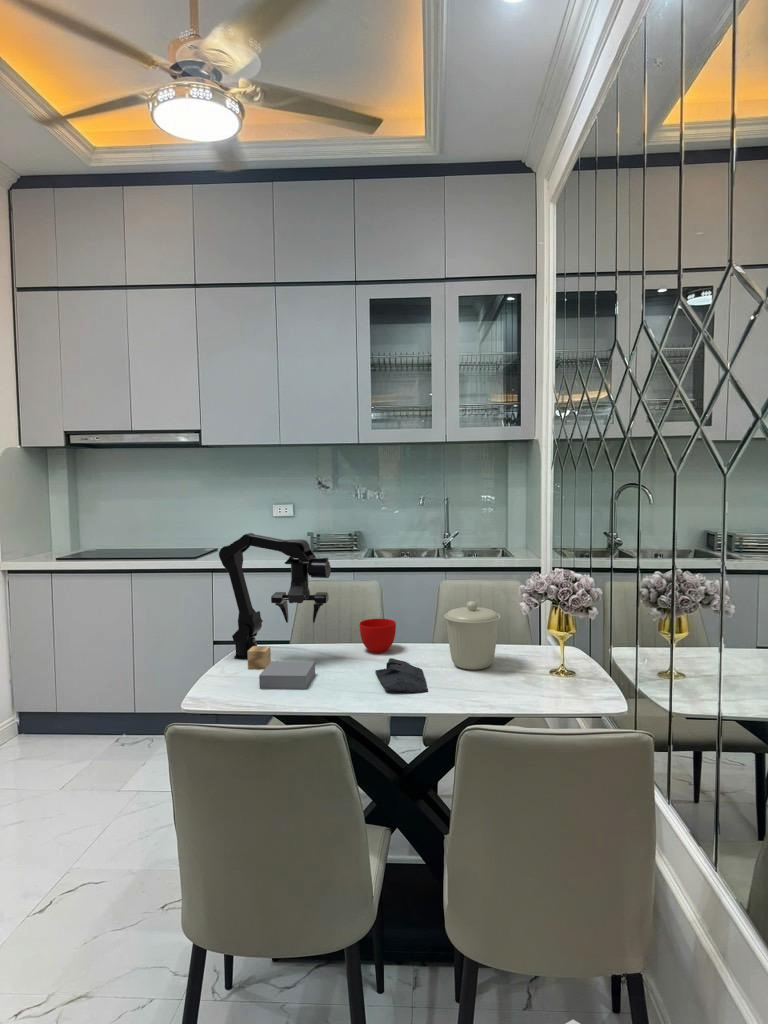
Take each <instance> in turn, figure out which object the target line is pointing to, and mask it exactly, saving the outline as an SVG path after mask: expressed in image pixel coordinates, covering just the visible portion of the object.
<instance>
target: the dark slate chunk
mask: <svg viewBox="0 0 768 1024" xmlns="http://www.w3.org/2000/svg"><path fill="white" fill-rule="evenodd" d="M385 665H386V667H385V668H381V669H375V670H374V672H375V674H376V676H377V679H378V681H379V682H380V684H381V685H382V686H383V689H385V690H386V691H387V692H390V693H391V692H397V693H398V692H403V693H415V694H416V693H418V694H421V693H427V692H429V688H428V684H427V683H428V682H427V679H426V677H425V675H424V671H423V669H422V668H420V667H416V666H414V665H412V664H411V663H409V662H407V661H405V660H400V659H396V658H391V657H390V658H388V661H387V662H386V663H385Z"/></svg>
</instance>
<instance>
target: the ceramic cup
mask: <svg viewBox="0 0 768 1024" xmlns="http://www.w3.org/2000/svg"><path fill="white" fill-rule="evenodd" d="M358 625H359V633H360V640H361V641H362V644H363V646H364V647H365V648H366V649H367V650H368V651H369V652H370V653H372V654H373V653H374V654H382V653H386V652H388V650H389V649H390V648H391V647H392V646H393V643H394V641H395V638H396V631H397V622H396V621H395V620H393V619H390V618H389V619H388V618H371V619H370V618H369V619H364V620H362V621H360V622H359V624H358Z"/></svg>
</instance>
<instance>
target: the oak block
mask: <svg viewBox="0 0 768 1024" xmlns="http://www.w3.org/2000/svg"><path fill="white" fill-rule="evenodd" d="M247 653H248V659H247V669H248V670H264V669H265V668H266V667H267V666H268V665H269V663H270V662H271V661H272V658H271V656H272V655H271V653H272V651H271V646H264V645H262V646H261V645H259V646H258V645H257V646H253V647H252V648H250V649H249V650H248V651H247Z"/></svg>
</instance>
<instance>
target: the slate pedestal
mask: <svg viewBox="0 0 768 1024" xmlns="http://www.w3.org/2000/svg"><path fill="white" fill-rule="evenodd" d="M315 675H316V661H314V660H310V661H309V660H308V661H307V660H304V661H302V660H298V661H297V660H294V661H293V660H271V662H270V663H269V665H268V666H267V667H266V668H265V669H262V672H260V674H259V675H258V678H259V681H258V682H259V683H258V686H259V689H262V690H264V689H265V690H266V689H267V690H268V689H269V690H274V689H275V690H307V688H308V687H309V685H310V684H311V682H312V680H313V678H314V677H315Z"/></svg>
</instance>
